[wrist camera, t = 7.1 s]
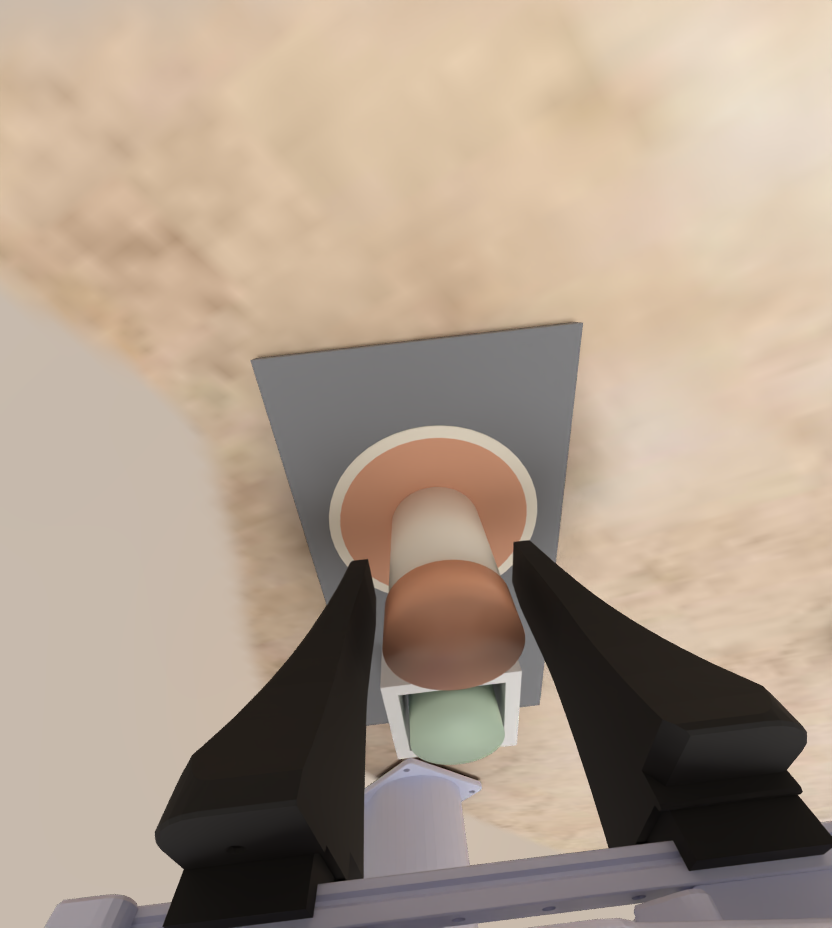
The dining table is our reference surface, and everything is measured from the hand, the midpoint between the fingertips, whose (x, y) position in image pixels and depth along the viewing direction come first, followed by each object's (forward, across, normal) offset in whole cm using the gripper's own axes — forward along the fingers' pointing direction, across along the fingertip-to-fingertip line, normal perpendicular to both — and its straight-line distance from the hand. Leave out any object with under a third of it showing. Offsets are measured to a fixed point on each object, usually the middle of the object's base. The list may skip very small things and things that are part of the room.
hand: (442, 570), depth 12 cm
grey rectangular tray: (+4, 0, +4) cm, 5 cm away
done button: (+2, 0, +12) cm, 12 cm away
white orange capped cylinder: (+3, 0, 0) cm, 3 cm away
